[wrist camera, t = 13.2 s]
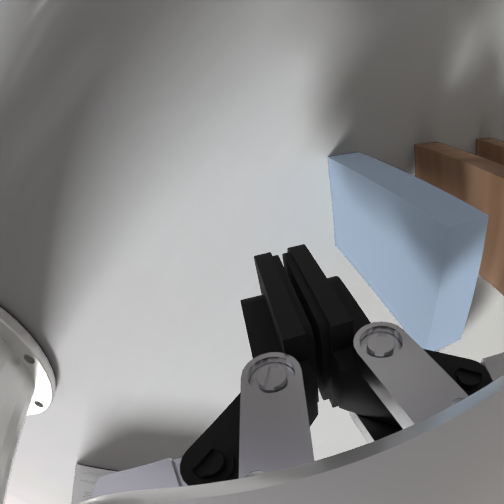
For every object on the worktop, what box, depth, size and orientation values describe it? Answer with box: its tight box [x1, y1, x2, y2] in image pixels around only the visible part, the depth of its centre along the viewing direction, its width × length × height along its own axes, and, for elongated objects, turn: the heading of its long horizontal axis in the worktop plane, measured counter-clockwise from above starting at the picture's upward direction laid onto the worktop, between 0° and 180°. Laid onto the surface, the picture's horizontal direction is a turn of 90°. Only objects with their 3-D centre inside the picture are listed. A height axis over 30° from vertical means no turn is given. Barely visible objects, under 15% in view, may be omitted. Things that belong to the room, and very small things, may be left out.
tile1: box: [328, 152, 488, 351], centre depth 13 cm, size 2×5×9 cm, turn 10°
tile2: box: [415, 142, 504, 295], centre depth 13 cm, size 2×5×9 cm, turn 10°
